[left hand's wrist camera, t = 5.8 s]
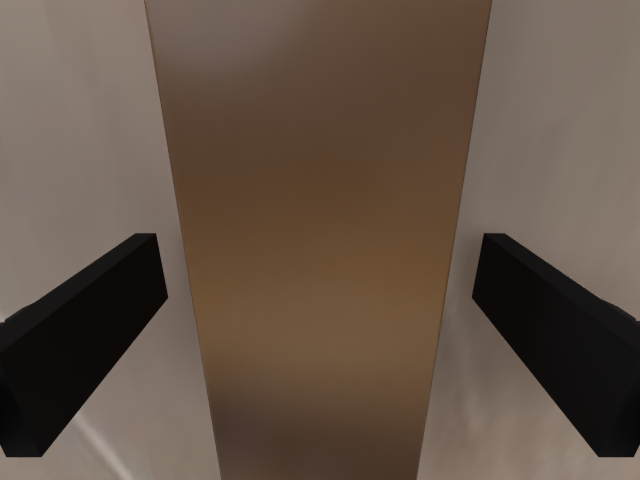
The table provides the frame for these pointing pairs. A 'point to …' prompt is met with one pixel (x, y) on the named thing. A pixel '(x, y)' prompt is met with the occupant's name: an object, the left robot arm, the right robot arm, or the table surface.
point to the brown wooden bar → (318, 217)
